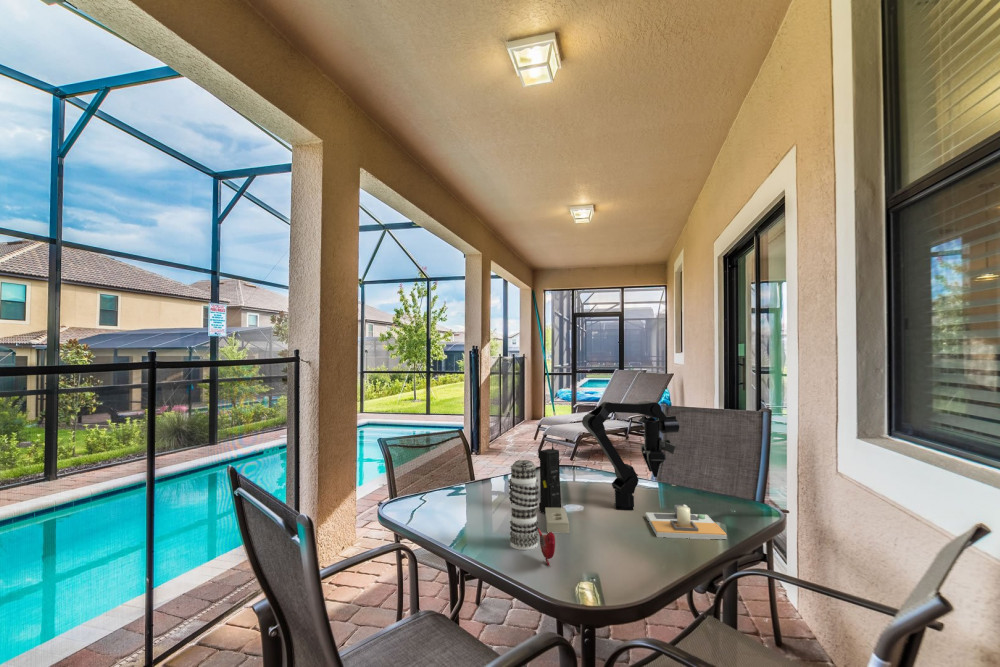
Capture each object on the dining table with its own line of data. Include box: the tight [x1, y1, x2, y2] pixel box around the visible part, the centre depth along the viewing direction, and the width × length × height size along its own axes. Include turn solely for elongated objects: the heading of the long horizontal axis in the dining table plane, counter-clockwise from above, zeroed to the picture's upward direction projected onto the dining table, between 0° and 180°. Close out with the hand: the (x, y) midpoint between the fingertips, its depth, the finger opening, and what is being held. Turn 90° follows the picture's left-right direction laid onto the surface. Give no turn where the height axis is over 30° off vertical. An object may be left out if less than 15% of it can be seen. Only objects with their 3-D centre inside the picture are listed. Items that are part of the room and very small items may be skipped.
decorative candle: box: [508, 459, 539, 551], centre depth 141 cm, size 9×9×25 cm
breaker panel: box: [645, 512, 728, 540], centre depth 154 cm, size 21×20×3 cm
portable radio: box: [537, 442, 562, 514], centre depth 172 cm, size 8×6×25 cm
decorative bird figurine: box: [537, 527, 556, 567], centre depth 129 cm, size 3×18×10 cm, turn 9°
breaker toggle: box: [673, 504, 688, 517], centre depth 160 cm, size 4×4×3 cm
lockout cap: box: [677, 506, 691, 528], centre depth 150 cm, size 4×4×6 cm
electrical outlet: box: [544, 507, 570, 534], centre depth 159 cm, size 7×4×18 cm
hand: (653, 474), depth 179 cm, fingers open, 9 cm apart
